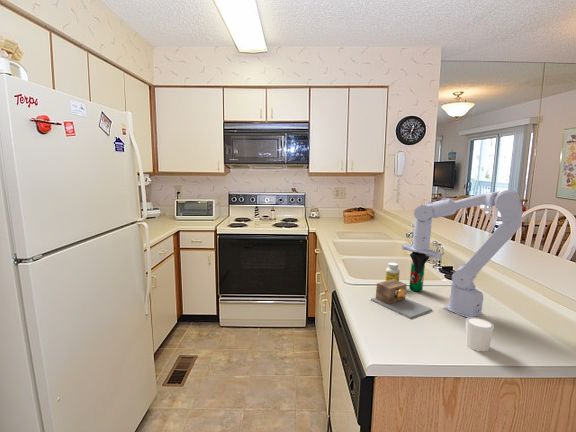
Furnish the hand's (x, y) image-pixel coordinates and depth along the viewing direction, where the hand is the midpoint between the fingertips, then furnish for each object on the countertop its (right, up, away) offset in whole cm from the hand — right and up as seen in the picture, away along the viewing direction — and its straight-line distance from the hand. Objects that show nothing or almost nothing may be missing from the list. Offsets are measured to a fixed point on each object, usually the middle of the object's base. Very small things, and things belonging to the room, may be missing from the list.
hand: (418, 272), depth 119 cm
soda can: (+3, -9, +11) cm, 14 cm away
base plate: (-8, -11, -4) cm, 14 cm away
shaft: (-11, -8, -1) cm, 14 cm away
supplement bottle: (-5, -8, +15) cm, 18 cm away
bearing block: (-11, -10, -1) cm, 15 cm away
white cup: (+4, -15, -30) cm, 34 cm away
